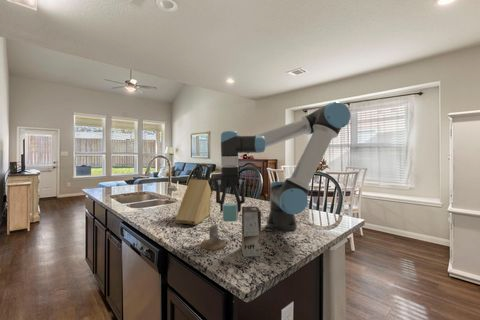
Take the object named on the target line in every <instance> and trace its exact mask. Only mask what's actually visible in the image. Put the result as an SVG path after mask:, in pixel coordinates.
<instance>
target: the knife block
mask: <svg viewBox="0 0 480 320" xmlns="http://www.w3.org/2000/svg"><path fill="white" fill-rule="evenodd" d="M212 169H213V168H212V166H208V167H207V170H206V173H205V177H204V176H203V174H204V173H203V172H204V171H205V170H204V167H203V163H199V164H198V165H197V166H196V168H195V170H194V174H193V177H192V179H189V181H188V184H187V186H186V189H185V192H184V194H183V197H182V200H181V203H180V205H179V208H178V211H177V214H176V216H175V222H176V224H187V225H194V226H196V225H198V224H200V222H202V221H203V220H205V218H206V217H208V216H209V215H211V201H212V200H211V199H212V194H213V193H214V189H215V185H214V179H215V177H214V176H211V174H212ZM210 176H211V177H210Z"/></svg>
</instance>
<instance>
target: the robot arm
mask: <svg viewBox="0 0 480 320" xmlns="http://www.w3.org/2000/svg"><path fill="white" fill-rule="evenodd" d="M350 121H351V112H350V109H349V107H348V105H346V104H345V103H343V102H341V101H333V102H329V103H327V104H326V105H325V106H322V107H320V108H318V109H316V110H314V111H313V112H311V113H309V114H307V115H305V116H302V117H301V118H300V119H299V120H296V121H292V122H290V123H288V124H284V125H281V126H279V127H276V128H272V129H270V130H266V131H264V132H261V133H258V134H255V135H239V133H238V131H235V130H226V131H225V130H224V131H222V132H221V134H220V155H221V157H220V158H221V160H220V161H221V163H220V165H221V172H220V173H221V178H220V179H218V180H215V181H214V184H215V202H216V203H217V204H219V205H220V207H219V209H220V212H221V213H222V220H223V221H224V208H223V206H224V205H225V204H226V203H225V200H226V196H227V191H228V189H229V188H230V189H232V190H233V193H234V197H235V200H236V201H235V202H236V203H235V204H236V221H239V219H240V214H239V213H241V212H242V204H244V203H245V201H246V196H245V195H246V193H245V185H246V180H243V179H240V177H239V167H238V166H239V154H242V153H243V154H246V155H247V154H252V153H253V154H256V153H257V154H260V153H264V152H265V151H266V148H268V147H271V146H275V145H277V144H279V143H282V142H285V141H288V140H291V139H294V138H296V137H300V136H303V135H311V137H310V139H309V140H308V142H307V145H306V146H305V148H304V150H303V153H302V154H301V156H300V158H299V160H298V162H297V164H296V166H295V168H294V170H293V172H292V174H291V176H289V177H287V178H286V179H285V180H284V181H272V182H270V187H269V189H270V198H269V199H270V201H269V203H270V205H269V207H270V208H269V209H270V210H269V214H268V217H267V220H266V227H267V228H268V229H271V230H273V231H279V232H280V231H281V232H290V231H291V232H292V231H294V230H296V229H297V227H298V226H297V225H298V223H297V220H296V216H295V215H298V214H301V213H302V212H304V211H305V210H306V208H307V207H308V203H309V201H308V200H309V199H308V196H309V193H310V190H311V189H310V184H311V181H312V179H313V177H314V175H315V174H316V171H317V170H318V168H319V165H320V164H321V162H322V160H323V158H324V157H325V153H326V152H327V149H328V148H329V145H330V144H331V142H332V140H333V139H334V138H337V137H338V135H339V134H340V131H341V130H342V128H345V127H346V126H347V125H348V124H349V123H350ZM238 183H239V185H240V194H239V191H238V186H237V185H238ZM221 184H222V185H223V188H222V194H221Z"/></svg>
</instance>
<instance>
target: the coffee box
mask: <svg viewBox="0 0 480 320" xmlns="http://www.w3.org/2000/svg"><path fill="white" fill-rule="evenodd" d="M261 226H262V211H261V210H260V209H259V207H258V206H241V252H242V256H243V257H246V258H247V257H250V258H251V257H260V256H261V247H262V246H261V245H262V244H261V240H262V239H261V238H262V236H261V235H262V233H261V232H262V231H261V229H262V227H261Z"/></svg>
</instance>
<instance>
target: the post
mask: <svg viewBox="0 0 480 320" xmlns="http://www.w3.org/2000/svg"><path fill="white" fill-rule="evenodd" d="M218 230H219V228H218V225H210V226H209V233H208V235H209V238H208V239H204V240H203V241H201V242H200V248H201V249H202V250H206V251H220V250H222V249H225V248H226V246H227V242H226V241H225V240H223V239H221V238H218V234H219V233H218Z"/></svg>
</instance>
